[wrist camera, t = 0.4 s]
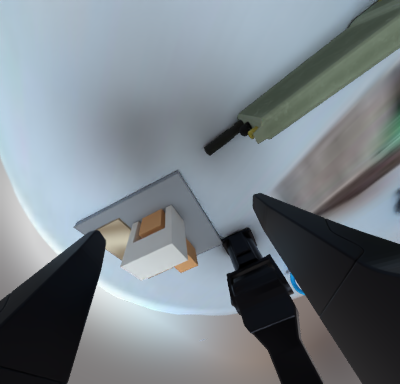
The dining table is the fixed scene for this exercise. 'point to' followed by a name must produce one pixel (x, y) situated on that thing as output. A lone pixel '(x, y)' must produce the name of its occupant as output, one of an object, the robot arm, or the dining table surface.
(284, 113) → the handheld radio
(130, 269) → the block
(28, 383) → the robot arm
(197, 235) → the board
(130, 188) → the dining table surface
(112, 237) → the pad
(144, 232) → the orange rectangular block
